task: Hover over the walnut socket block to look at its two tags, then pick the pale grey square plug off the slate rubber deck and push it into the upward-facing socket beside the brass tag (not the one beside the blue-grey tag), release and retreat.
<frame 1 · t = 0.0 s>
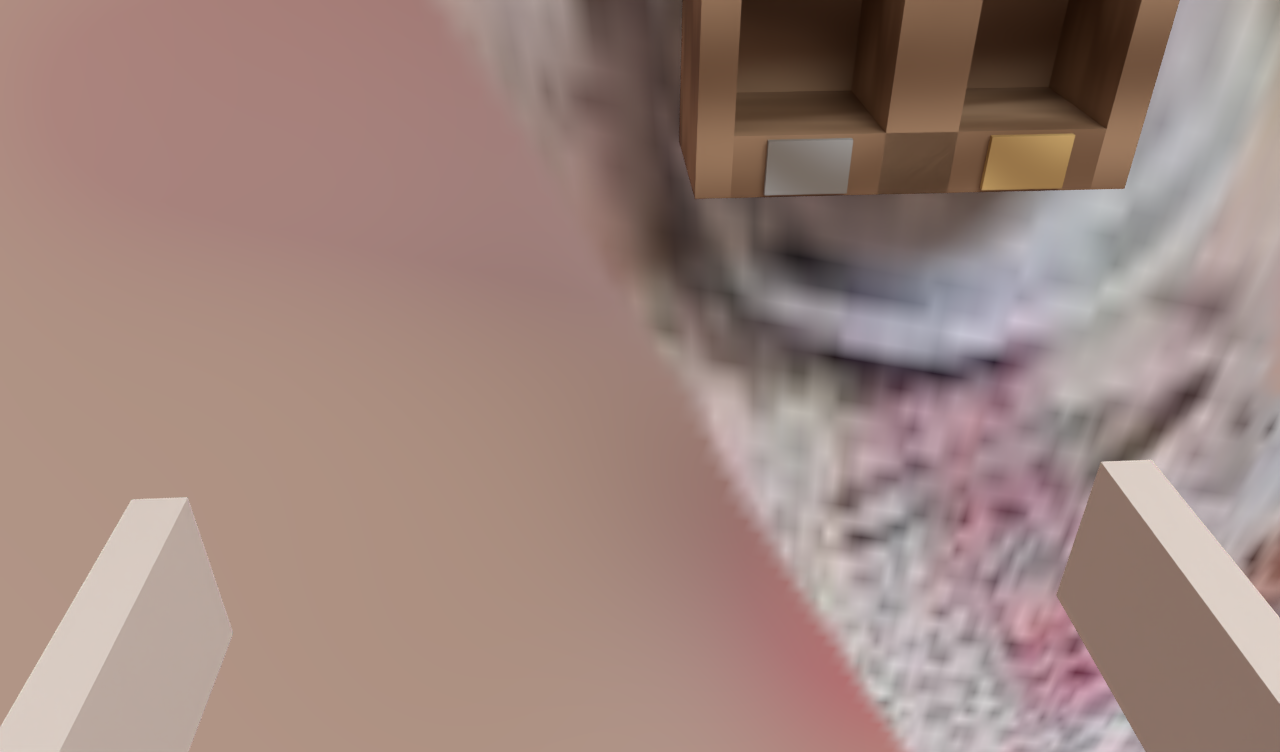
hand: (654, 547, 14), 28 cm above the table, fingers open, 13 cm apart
socket block: (886, 13, 38), on the table
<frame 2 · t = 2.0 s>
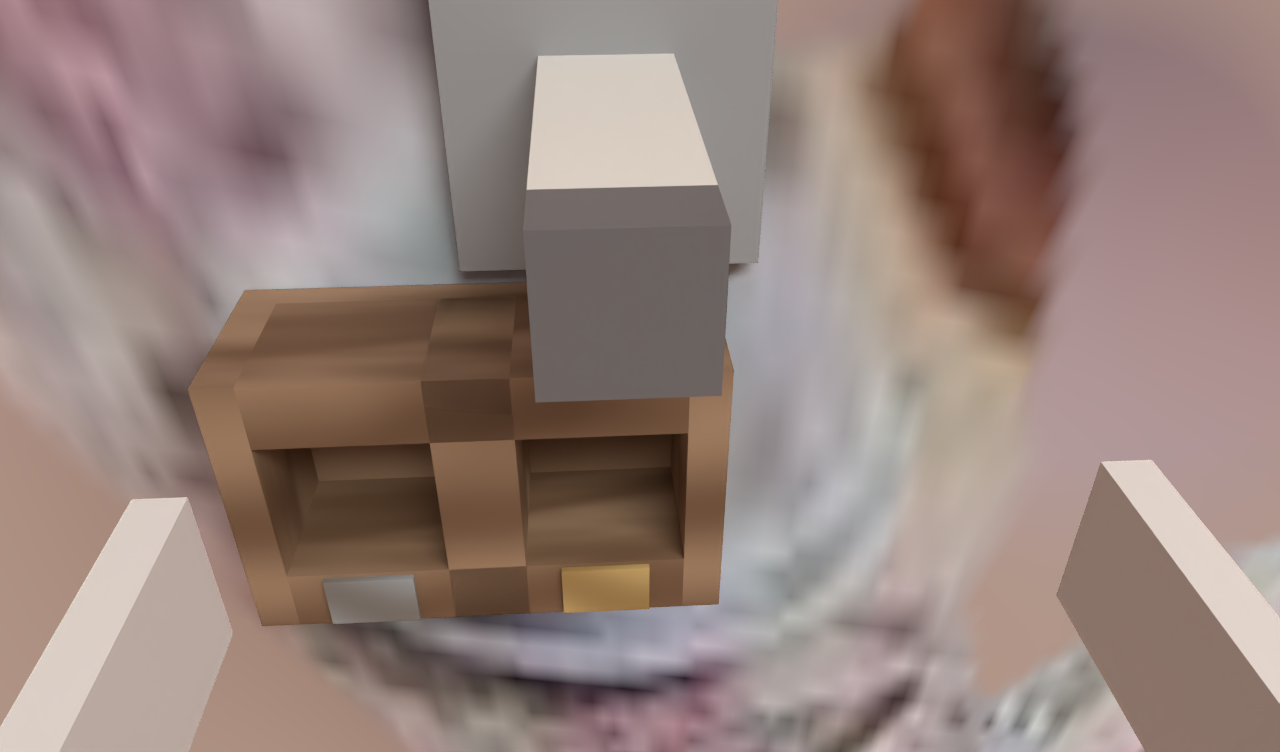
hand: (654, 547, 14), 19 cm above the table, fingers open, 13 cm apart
deck: (606, 110, 30), on the table
socket block: (492, 401, 36), on the table
plug: (607, 121, 30), point 1 cm above the table, touching deck
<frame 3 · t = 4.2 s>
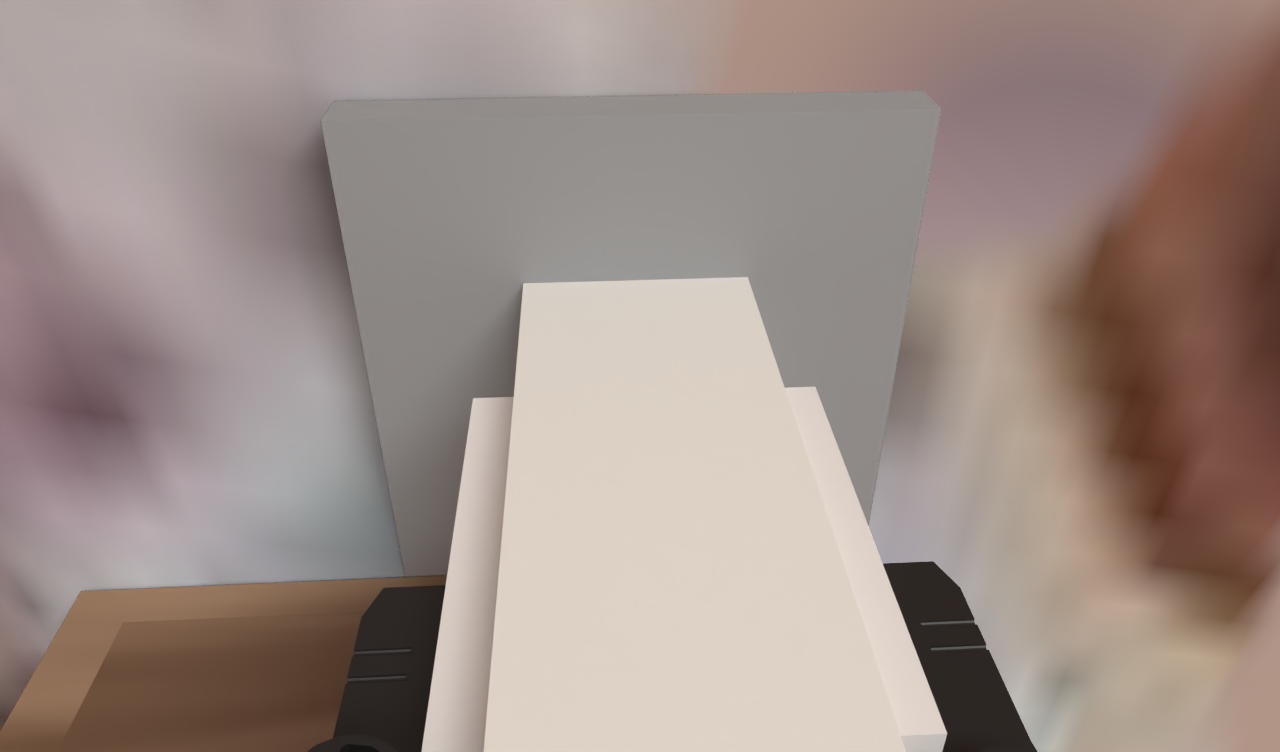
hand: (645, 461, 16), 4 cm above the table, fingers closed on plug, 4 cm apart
deck: (633, 347, 19), on the table
socket block: (460, 715, 25), on the table
plug: (636, 374, 18), point 1 cm above the table, touching gripper
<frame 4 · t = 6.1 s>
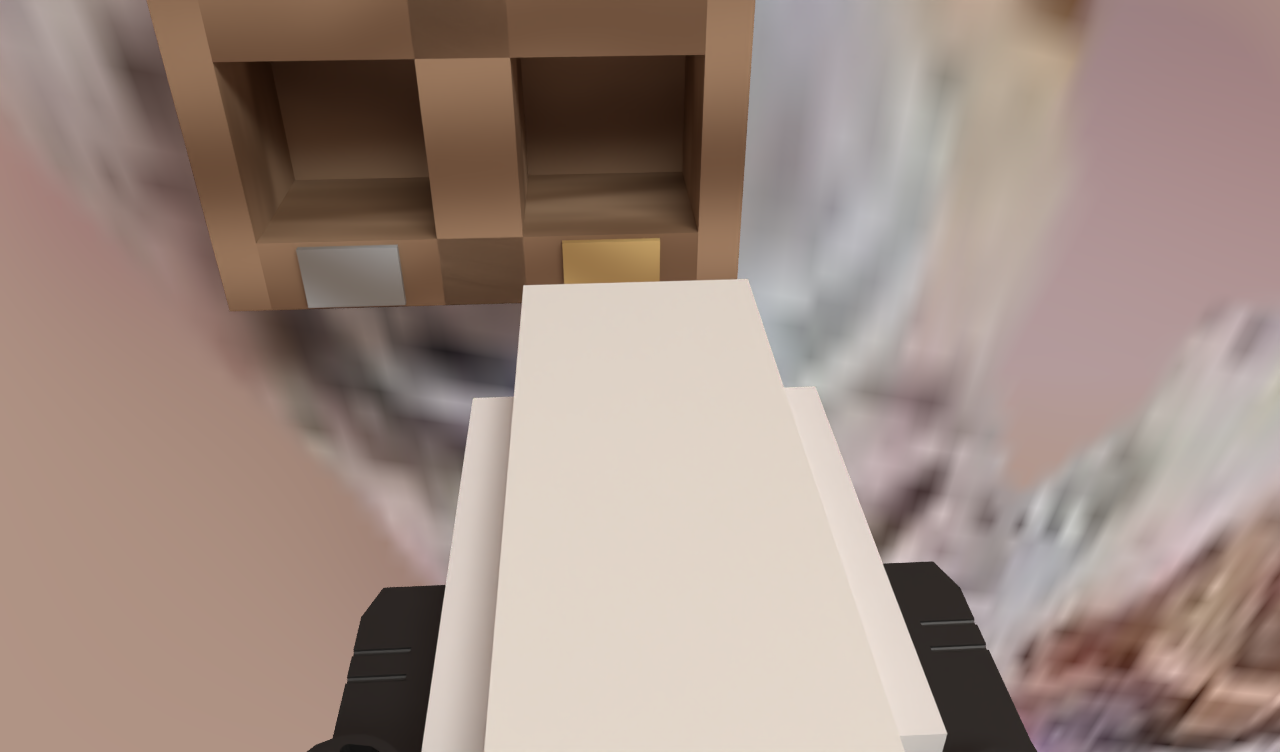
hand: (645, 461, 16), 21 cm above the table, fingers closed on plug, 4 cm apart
socket block: (486, 89, 33), on the table
plug: (636, 376, 18), point 18 cm above the table, touching gripper
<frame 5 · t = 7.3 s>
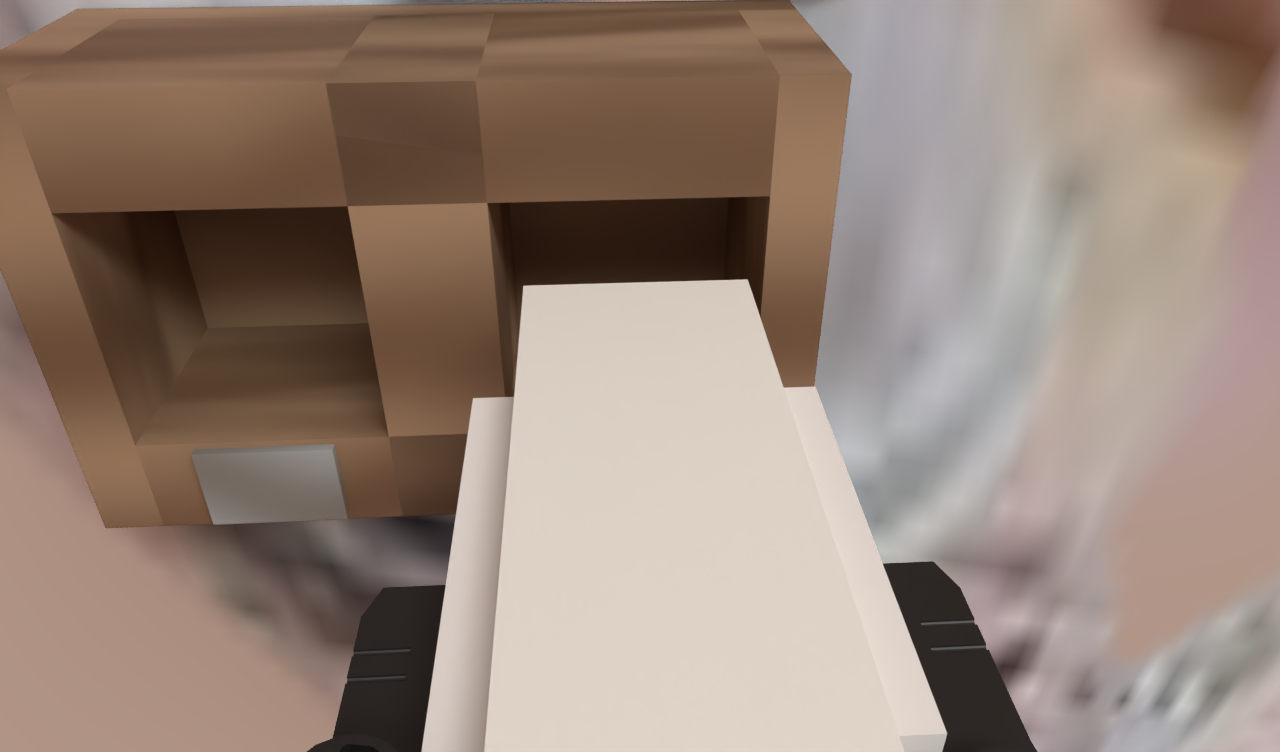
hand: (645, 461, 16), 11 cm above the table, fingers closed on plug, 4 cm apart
socket block: (461, 209, 25), on the table
plug: (636, 376, 18), point 8 cm above the table, touching gripper
when the fingers open (7 cm above the table, at t = 8.3 s): plug drops 3 cm, resting on socket block.
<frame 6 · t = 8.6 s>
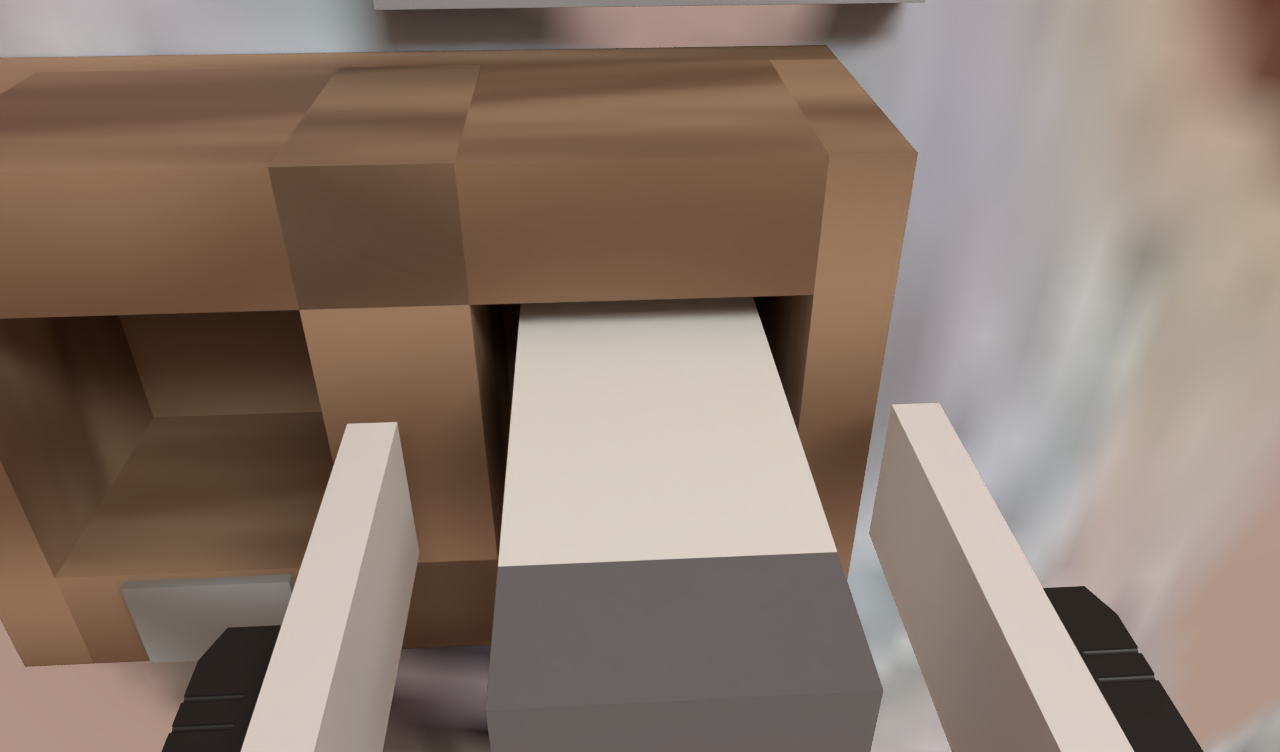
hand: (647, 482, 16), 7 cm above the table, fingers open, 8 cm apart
socket block: (445, 281, 21), on the table
plug: (627, 298, 21), point 1 cm above the table, touching socket block
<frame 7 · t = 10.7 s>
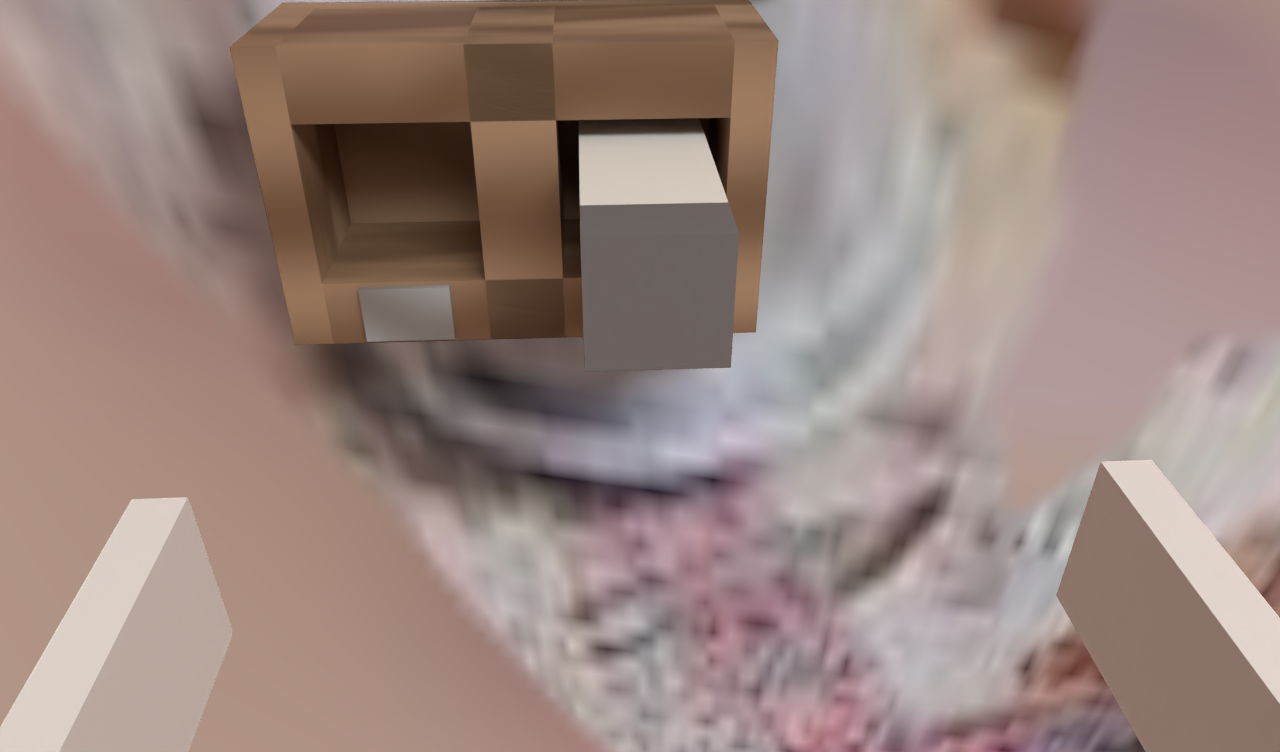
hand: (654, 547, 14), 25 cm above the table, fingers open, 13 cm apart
socket block: (526, 141, 36), on the table
plug: (634, 149, 35), point 1 cm above the table, touching socket block
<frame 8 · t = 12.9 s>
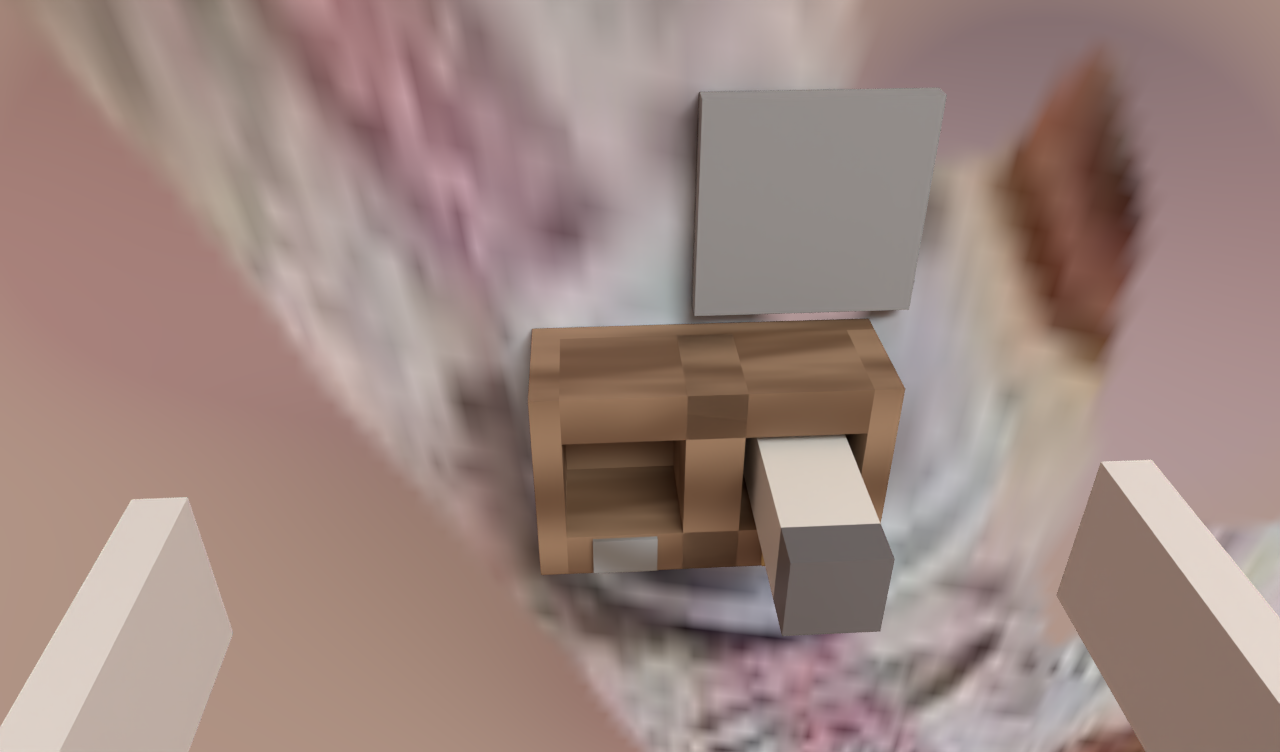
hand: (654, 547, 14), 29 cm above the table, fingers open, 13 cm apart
deck: (808, 202, 43), on the table
socket block: (698, 409, 48), on the table
plug: (780, 419, 48), point 1 cm above the table, touching socket block
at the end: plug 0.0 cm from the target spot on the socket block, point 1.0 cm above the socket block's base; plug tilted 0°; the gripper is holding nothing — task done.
